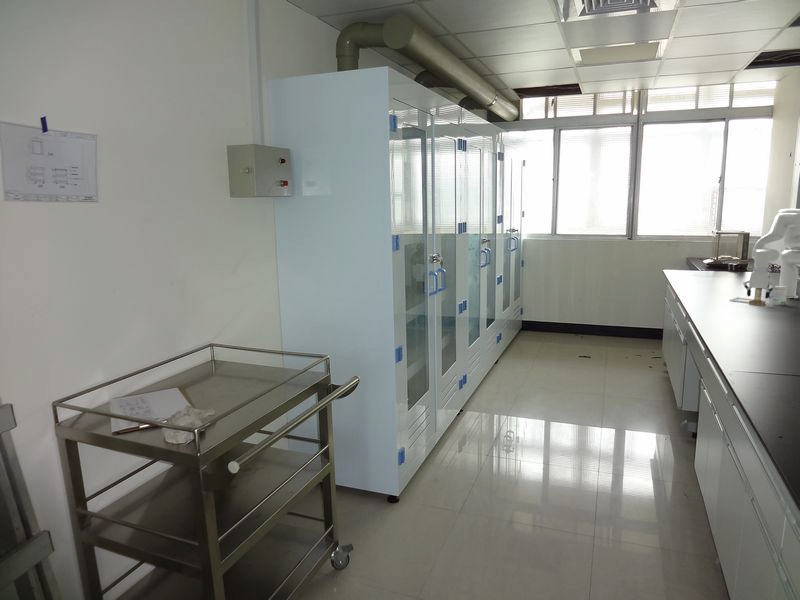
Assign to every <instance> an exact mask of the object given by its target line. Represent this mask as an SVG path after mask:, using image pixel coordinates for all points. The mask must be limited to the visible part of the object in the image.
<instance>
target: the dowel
mask: <svg viewBox="0 0 800 600" xmlns="http://www.w3.org/2000/svg"><path fill="white" fill-rule="evenodd" d="M762 290H763V289H761V288H754V298H753V299H754V301H757V302H761V300H762V292H763V291H762Z"/></svg>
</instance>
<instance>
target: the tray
mask: <svg viewBox="0 0 800 600" xmlns="http://www.w3.org/2000/svg"><path fill="white" fill-rule="evenodd" d="M752 299H753V298H747V297H738V296H736V297H733V298H730V299H729V302H735V303H743V304H749V301H750V300H752Z"/></svg>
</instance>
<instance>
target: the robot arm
mask: <svg viewBox="0 0 800 600" xmlns="http://www.w3.org/2000/svg"><path fill="white" fill-rule="evenodd" d="M782 239H784V240H783V244H784V247H786V248H789V249H785V250H783V251H782V252H781V253H780V252H779V250H778V249H775V248H763V247H764V246H766V245H768V244H770V243H774V242H777V241H780V240H782ZM751 258H752V259H753V260H754V262H753V271H752V272H751V274H750V277H749V280H747V281H744V282H743V283H742V284H743V287H744V288H745V289H746V296H747V297H750V296H751V294H752V293H751V292H752V290H751V289H755V288H761V289H762V290H765V291H766V292H765V299H767V300H768V297H769V294H770V291H772V290H773V289H774V288H775V287H776V286H777V285H776V284H774V283H772V282H771V278H770V277H771V275H770V272H771V271H772V269H771V268H769V264H770V262H775V261H777V260H778V259H779V258H780V274H779V283H778V284H779V285H778V286H784V287H787V297H786V299H790V298H794V299H798V298H799V296H798V295H796V292H797V287H798V286H797V285H798V278H799V269H798V268H797V266H800V208H784V209H783V208H782V209H780V210H778V211H777V214H776V215H775V216H774V218H773V221H772V223H771V226H770V228H769V230H768V233H767V234H764V235H763V236H762V237H760V238H759V239H758V240H757V241H756V242H755V244H754V246H753V248H752V250H751ZM747 284H748V285H747ZM769 286H772V288H771V289H769Z"/></svg>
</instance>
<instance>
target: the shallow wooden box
mask: <svg viewBox="0 0 800 600" xmlns="http://www.w3.org/2000/svg"><path fill="white" fill-rule="evenodd" d="M751 299H752V300H750V301H749V303H748V305H751V306H760V307H762V306H764V305H766V303H767V301H766V300H763V299H761V302H757V301H754V298H751Z"/></svg>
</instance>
